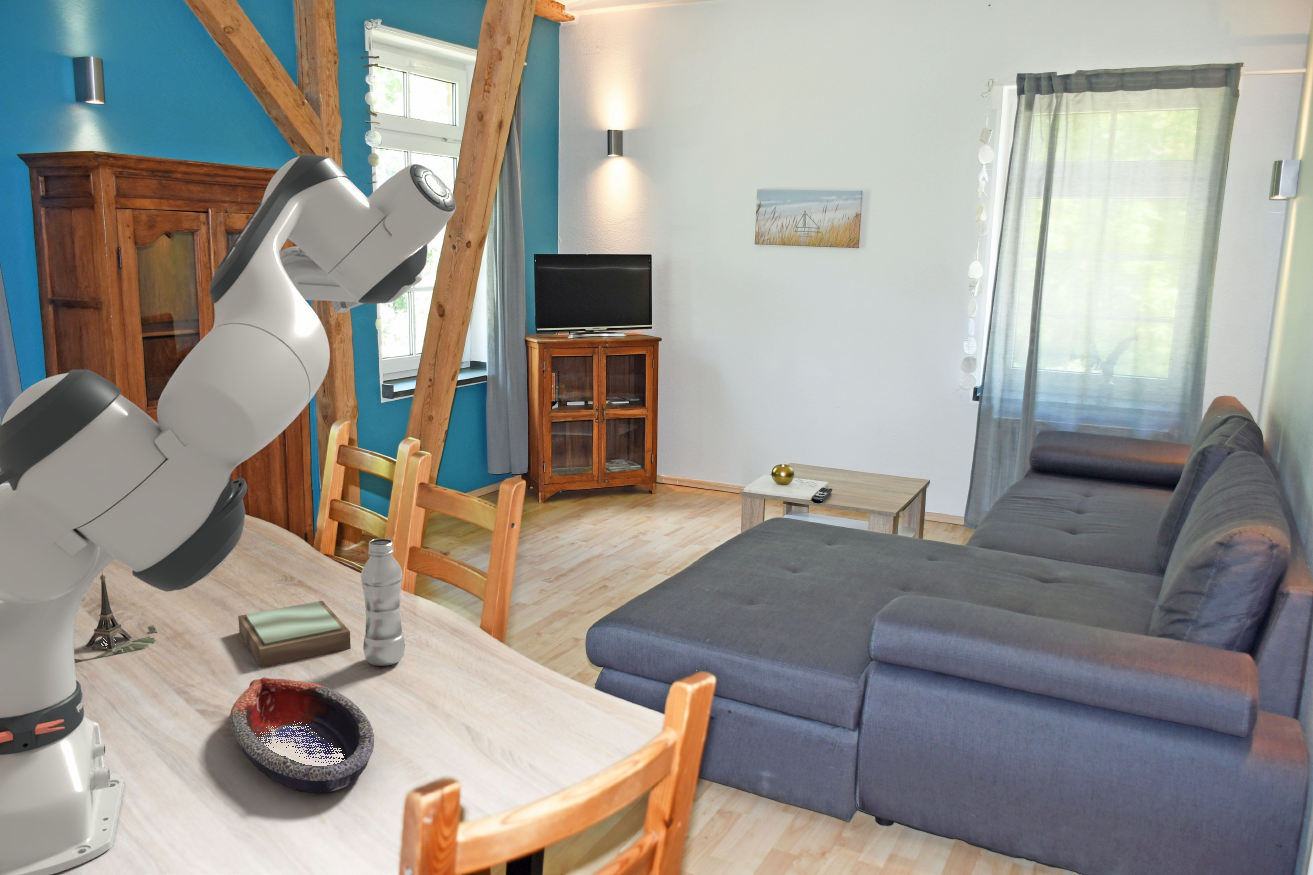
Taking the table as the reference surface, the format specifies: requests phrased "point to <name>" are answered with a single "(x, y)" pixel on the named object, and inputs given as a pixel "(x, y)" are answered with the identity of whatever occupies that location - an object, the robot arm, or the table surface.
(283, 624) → the walnut stand
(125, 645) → the eiffel tower figurine
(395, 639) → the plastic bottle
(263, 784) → the table surface
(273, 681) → the dish
